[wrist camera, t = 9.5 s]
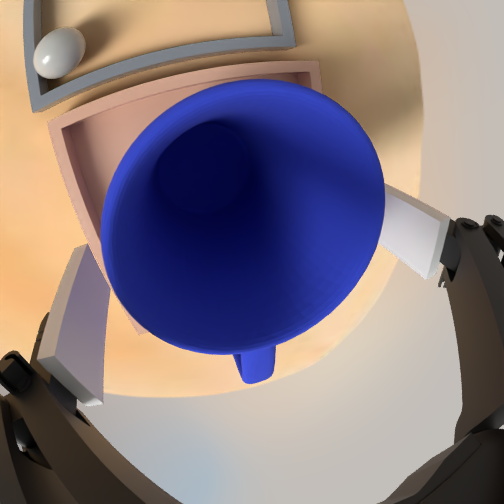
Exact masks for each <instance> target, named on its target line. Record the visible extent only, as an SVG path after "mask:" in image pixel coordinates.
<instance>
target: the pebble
mask: <svg viewBox="0 0 504 504" xmlns="http://www.w3.org/2000/svg"><path fill="white" fill-rule="evenodd" d="M85 47H86V44H85V39H84V36H83V35H82V33H81V32H80V31H78V30H77V29H75V28H72V27H62V28H58V29H55V30H53V31H51V32H50V33H48V34H47V35H46V36H45V37H44V38H43V39H42V40H41V41H40V42H39V44H38V45H37V47H36V49H35V52H34V56H33V64H34V68H35V70H36V72H37V73H38V74H39V75H41V76H42V77H44V78H48V79H56V78H60V77H63V76H65V75H67V74H68V73H70V72H71V71H73V70H74V69H75V68H76V67H77V66H78V64H79V63H80V61H81V60H82V58H83V56H84V53H85Z"/></svg>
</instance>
